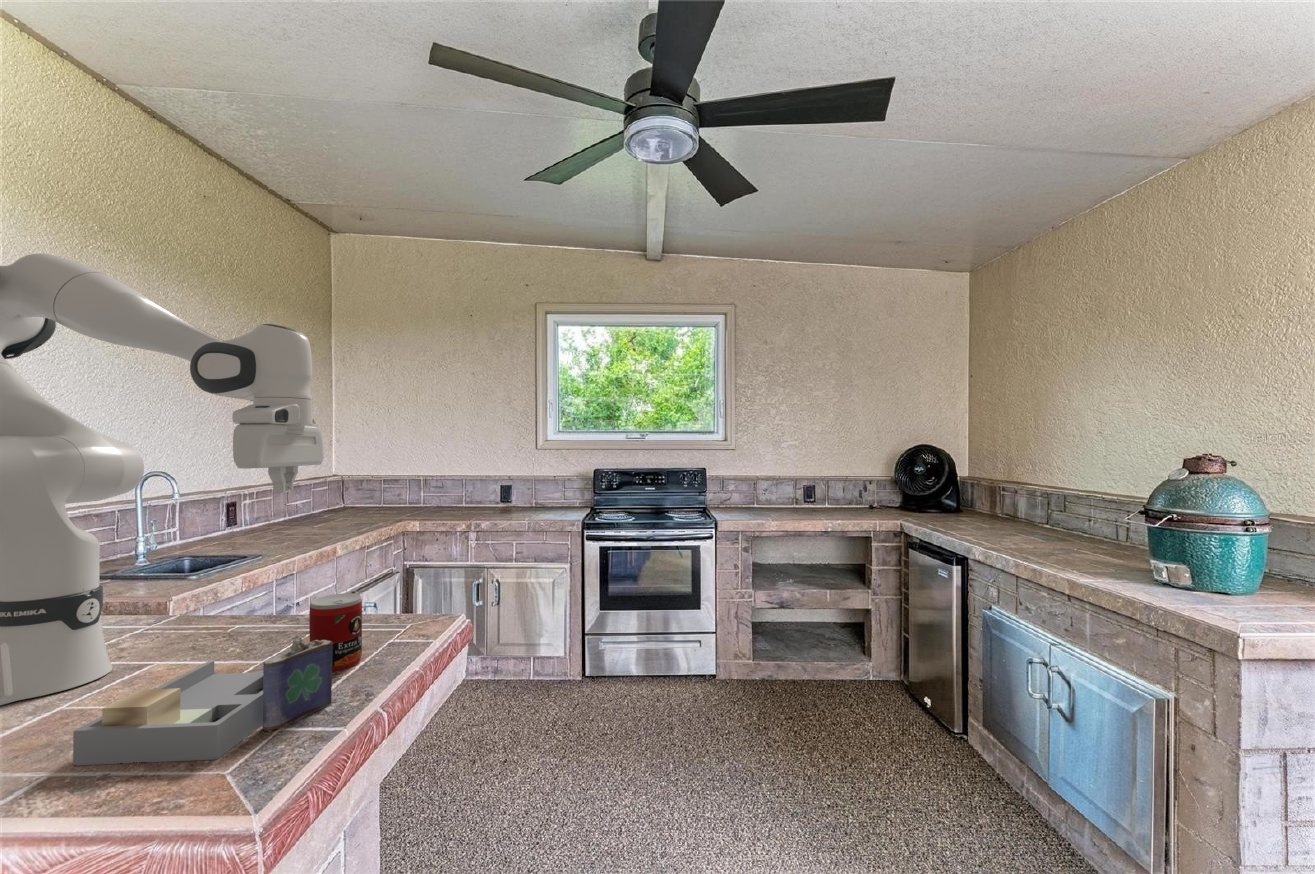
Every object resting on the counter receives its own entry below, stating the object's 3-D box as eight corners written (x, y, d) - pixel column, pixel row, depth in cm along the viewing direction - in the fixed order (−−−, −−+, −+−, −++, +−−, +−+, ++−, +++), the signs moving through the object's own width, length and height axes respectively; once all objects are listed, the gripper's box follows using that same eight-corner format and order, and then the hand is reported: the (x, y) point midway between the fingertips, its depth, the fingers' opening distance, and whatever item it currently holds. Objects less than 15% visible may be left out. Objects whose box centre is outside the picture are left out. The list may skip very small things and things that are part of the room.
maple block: (102, 742, 65) (102, 708, 65) (138, 721, 70) (139, 689, 70) (146, 740, 65) (147, 706, 66) (180, 719, 70) (180, 688, 71)
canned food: (339, 674, 89) (339, 606, 89) (297, 671, 91) (297, 604, 91) (372, 656, 97) (372, 594, 97) (333, 653, 98) (333, 592, 98)
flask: (270, 734, 71) (270, 650, 71) (255, 729, 72) (256, 647, 72) (336, 703, 79) (337, 628, 79) (322, 699, 80) (323, 625, 81)
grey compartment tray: (73, 765, 64) (73, 731, 64) (208, 687, 85) (208, 661, 85) (217, 759, 65) (217, 725, 65) (316, 683, 86) (316, 657, 86)
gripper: (300, 418, 109) (299, 488, 109) (224, 412, 89) (224, 497, 89) (332, 418, 110) (332, 487, 109) (264, 411, 89) (264, 497, 89)
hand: (283, 492), depth 99 cm, fingers closed
